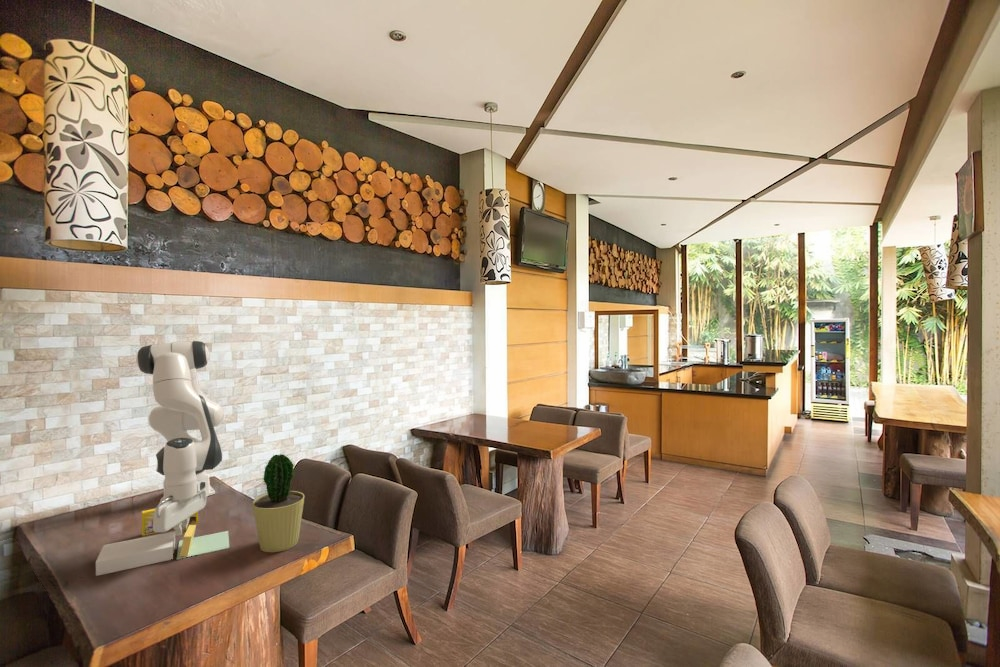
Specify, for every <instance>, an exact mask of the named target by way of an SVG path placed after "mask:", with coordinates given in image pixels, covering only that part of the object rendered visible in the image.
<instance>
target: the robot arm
mask: <svg viewBox="0 0 1000 667" xmlns="http://www.w3.org/2000/svg"><path fill="white" fill-rule="evenodd" d="M209 360H210V351H209V348H208V347H207V345H206V343H204V342H203V341H199V340H193V341H172V342H166V343H158V344H155V345H152V344H148V345H145V346H142V347H141V348H140V349H139V350H137V355H136V365H137V367H138V368H139V370H140V372H142V373H144V374H146V375H152V390H153V398H154V400H155V402H157V404H158V405H159V406H155V407H153V409H152V410H151V411H150V413H149V416H148V423H149V426H150V428H152V429H153V431H156V432H158V433H159V434H160V435H162V437H164V439H165V440H166V441H167V442H166V443H165V445H164V447H161V449H160V450H158V452H157V453H156V454H155V457H156V470H155V471H156V472H157V473H159V474H161V475H162V476H164V480H163V496H162V497H161V498H160V501H159V502H158V505H157V506H156V507H155V508H156V509H155V508H154V509H155V512H154V518H153V530H154V532H158V533H167V532H168V531H171V530H172V529H171V528H174V529H173V530H174V531H175V537H176V536H177V537H178V536H179V537H181V536H182V535H183V534H185V533H186V531H187V529H188V526H189V525H188V523H189V520H190V516H192V515H193V514H195V513H196V512H198V513H199V512H200V511H202V510H203V509H204V508H205V507H206V504H207V497H209V496H212V495H215V494H216V491H215V489H214V488H213V487H212V485H211V482H210V475H209V473H207V472H206V471H210V470H211V471H212V470H214V469H216V468H217V467H218V465H220V464H221V463H222V460H223V453H224V452H223V449H222V446H221V444H220V442H219V440H218V436H217V432H216V430H215V427H218V426H219V425H220V424H221V423H222V420H223V418H224V410H223V408H222V406H221V405H220V404H219V403H217V402H215V401H212V400H211V399H209V397H207V396H206V395H205V394H204V392H203V391H202V389H201V387H200V384H199V379H198V372H197V370H199V369H201V368H204V367H206V366H207V365H208V362H209ZM192 430H193V431H196V430H199V433H200V437H201V440H200V439H198V438H196V437H193V436H192V435H190V434H189V433H188V431H192ZM170 529H171V530H170Z"/></svg>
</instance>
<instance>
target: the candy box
mask: <svg viewBox="0 0 1000 667" xmlns="http://www.w3.org/2000/svg"><path fill="white" fill-rule="evenodd" d="M155 509H156V507H155V508H151V509H147V510H142V511H141V536H142V537H147V536H151V535H153V534H157V533H159V532H154V530H153V518H154V512H155ZM198 523H199V511H198V512H196V513H195V514H193V515H192V516H190V520H189V523H188V525H187V526H189V525H197V524H198ZM171 530H175V529H174V528H171V529H170V530H169V531H171Z"/></svg>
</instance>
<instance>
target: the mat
mask: <svg viewBox="0 0 1000 667" xmlns="http://www.w3.org/2000/svg"><path fill="white" fill-rule="evenodd" d="M182 543H183V539H180V540H178V546H177V552H176V553H177V555H176V558H175V559H176V560H177V561H178V560H182V558H183V559H187V558H186V557H188V558H191V556H192V557H196V556H195V555H197V556H201V555H205V554H210V553H215V552H219V551H223V550H229V549H230V537H229V530H225V531H220V532H216V533H210V534H205V535H201V536H200V535H199V536H194V538H193V543H192V546H191V548H190V551H189V553H188V556H180V553H181V548H182Z"/></svg>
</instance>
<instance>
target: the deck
mask: <svg viewBox="0 0 1000 667" xmlns="http://www.w3.org/2000/svg"><path fill="white" fill-rule="evenodd" d="M175 547H176V535H175V530H174V531H170V532H163V533H159V534H155V535H153V534H152V535H147V536H142V537H140V538H139V537H138V538H134V539H133V538H132V539H128V540H123V541H117V542H112V543H108V544H106V543H105V544H103V546H102V548H101V550H100V552H99V554H98V556H97V559H96V561H95V576H96V577H97V576H102V575H107V574H111V573H116V572H120V571H125V570H130V569H134V568H135V569H136V568H139V567H140V568H141V567H143V566H144V567H145V566H149V565H153V564H157V563H158V564H159V563H163V562H167V561H171V559H172V560H173V559H174V555H173V554H175Z"/></svg>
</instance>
